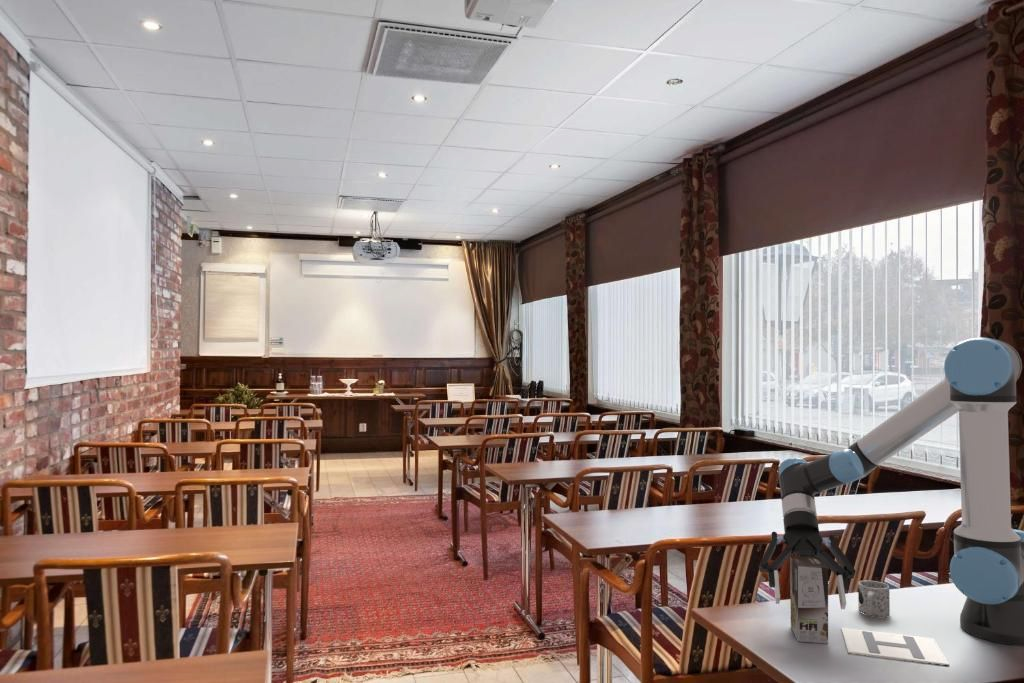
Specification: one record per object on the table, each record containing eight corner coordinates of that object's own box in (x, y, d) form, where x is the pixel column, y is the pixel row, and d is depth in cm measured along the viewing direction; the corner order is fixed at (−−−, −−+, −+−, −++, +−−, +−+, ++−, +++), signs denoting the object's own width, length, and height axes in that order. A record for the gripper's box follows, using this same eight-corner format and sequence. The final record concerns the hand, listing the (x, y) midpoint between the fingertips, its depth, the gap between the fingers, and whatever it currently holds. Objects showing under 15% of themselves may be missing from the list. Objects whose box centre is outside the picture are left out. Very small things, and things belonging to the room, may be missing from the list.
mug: (861, 606, 175) (860, 578, 176) (891, 611, 172) (891, 583, 172) (853, 618, 167) (853, 589, 167) (885, 624, 163) (885, 594, 164)
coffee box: (829, 644, 151) (829, 567, 152) (797, 642, 153) (796, 565, 153) (820, 628, 160) (819, 556, 161) (789, 626, 162) (789, 554, 162)
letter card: (933, 640, 154) (933, 637, 154) (949, 666, 141) (949, 663, 141) (841, 629, 160) (841, 627, 160) (848, 653, 147) (848, 651, 147)
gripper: (854, 529, 169) (870, 616, 154) (744, 523, 175) (749, 606, 160) (859, 511, 164) (875, 599, 149) (745, 506, 170) (751, 590, 155)
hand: (810, 603), depth 154 cm, fingers open, 12 cm apart
